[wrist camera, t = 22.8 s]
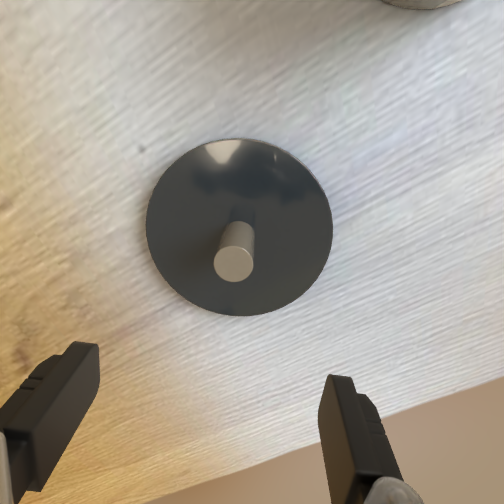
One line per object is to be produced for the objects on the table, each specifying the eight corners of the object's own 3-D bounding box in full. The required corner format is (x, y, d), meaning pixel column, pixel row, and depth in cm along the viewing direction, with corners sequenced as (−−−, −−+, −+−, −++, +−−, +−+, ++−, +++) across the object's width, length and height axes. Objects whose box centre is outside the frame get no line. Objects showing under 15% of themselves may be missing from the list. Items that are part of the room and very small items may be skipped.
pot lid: (349, 151, 25) (375, 165, 19) (310, 318, 30) (322, 369, 24) (152, 124, 24) (118, 129, 19) (148, 297, 30) (120, 343, 24)
